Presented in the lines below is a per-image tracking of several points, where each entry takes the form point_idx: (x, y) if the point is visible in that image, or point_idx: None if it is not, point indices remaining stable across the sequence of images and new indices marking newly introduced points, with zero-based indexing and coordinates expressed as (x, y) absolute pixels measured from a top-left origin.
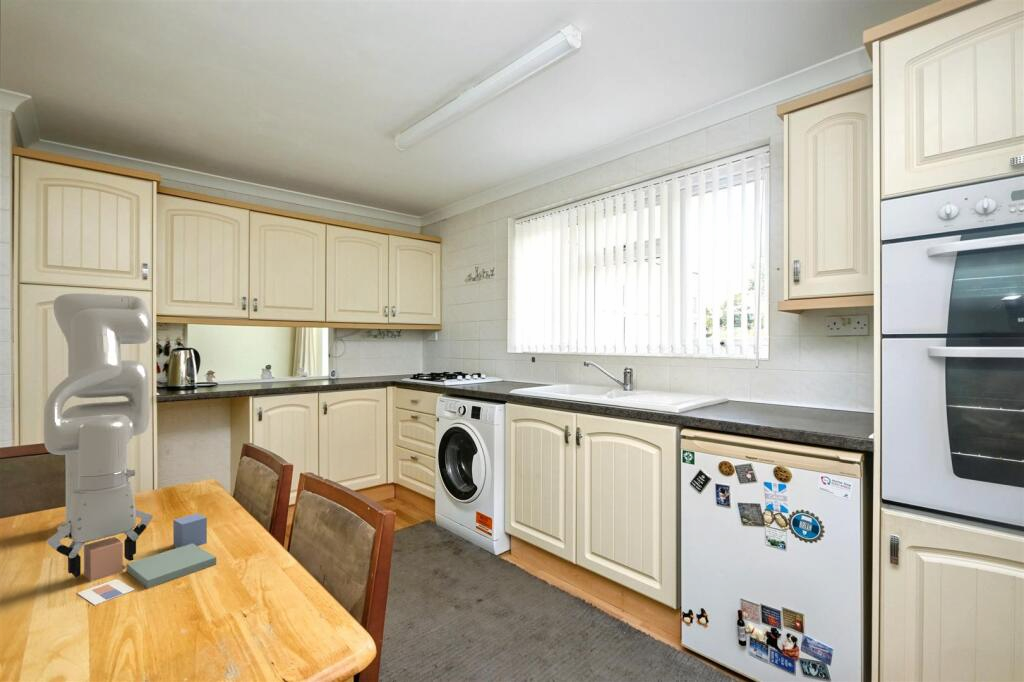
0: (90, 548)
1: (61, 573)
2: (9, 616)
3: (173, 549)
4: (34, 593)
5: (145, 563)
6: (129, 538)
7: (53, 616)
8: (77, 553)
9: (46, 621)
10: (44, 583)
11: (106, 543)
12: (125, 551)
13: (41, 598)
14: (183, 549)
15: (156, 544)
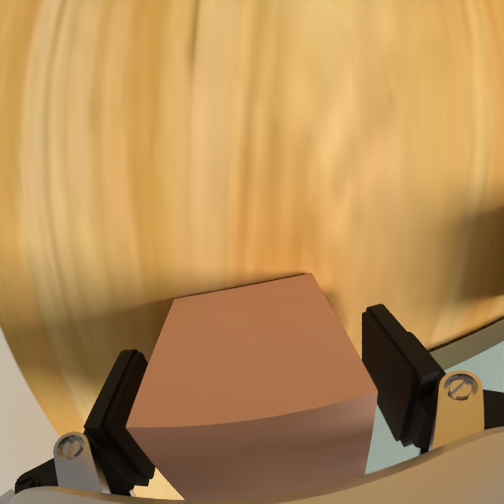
0: (191, 495)
1: (81, 184)
2: (58, 433)
3: (491, 349)
4: (47, 345)
5: (385, 431)
6: (417, 445)
7: (153, 487)
8: (134, 496)
9: (146, 492)
10: (45, 269)
11: (286, 479)
12: (377, 352)
13: (84, 399)
14: (497, 366)
15: (483, 109)
